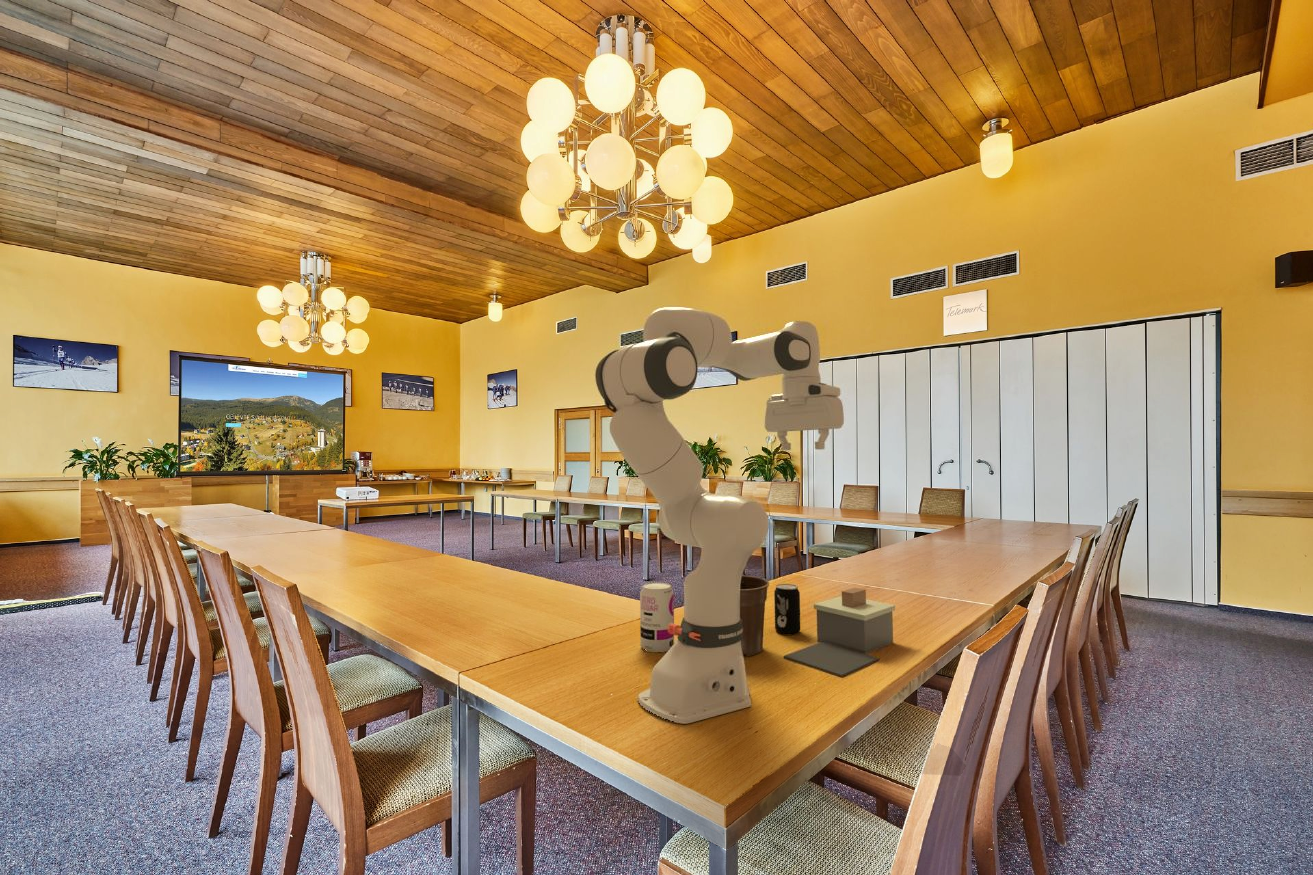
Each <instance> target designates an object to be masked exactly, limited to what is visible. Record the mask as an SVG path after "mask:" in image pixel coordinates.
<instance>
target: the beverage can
mask: <svg viewBox="0 0 1313 875" xmlns="http://www.w3.org/2000/svg"><path fill="white" fill-rule="evenodd" d="M798 588H799V587H798V585H795V584H793V583H779V584H776V585H775V589H774V591H773V592H774V594H773V597H774V629H775V631H776V632H777V633H778V634H780V635H785V636H794V635H798V634H799V633H800V631H801V596H800V595H801V592H800V591H799V589H798Z"/></svg>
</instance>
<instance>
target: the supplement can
mask: <svg viewBox="0 0 1313 875" xmlns="http://www.w3.org/2000/svg"><path fill="white" fill-rule="evenodd" d="M674 591H675V590H673V587H672V585H671V584H670V583H665V582H648V583H645V584H643V585H642V587H641V590H640V592H639V598H640V599H639V604H640V606H639V609H640V610H639V612H640V616H639V617H640V618H639V619H640V622H639V623H640V626H639V627H640V628H639V629H640V631H639V632H640V634H639V635H640V647H641V648H642V649H643V648H644V649H646V650H647V651H646V652H648V651H650V652H649V653H654V652H661V653H665V651H666V652H668V650H669V649H670V648H671V647H672V646H673V645H674V644H675V635H674V634H670V633H669V632H668V631H669V630H668V626H669V624H671V623H673V624H675V602H674V601H675V596H674V594H675V593H674ZM644 649H643V650H644Z"/></svg>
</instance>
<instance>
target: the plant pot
mask: <svg viewBox="0 0 1313 875" xmlns="http://www.w3.org/2000/svg"><path fill="white" fill-rule="evenodd" d="M769 586H770V582H769V580H767V579H766V578H762V577H757V576H752V575H742V577H741V584H740V618H741V619H742V627H743V638H742V639H741V648H742V653H743V655H746V656H748V657H749V656H753V655H754V656H755V655H757V654H759V653H761V652H762V650H763V647H764V646H763V645H764V627H765V610H766V601H767V597H768V587H769Z"/></svg>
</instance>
